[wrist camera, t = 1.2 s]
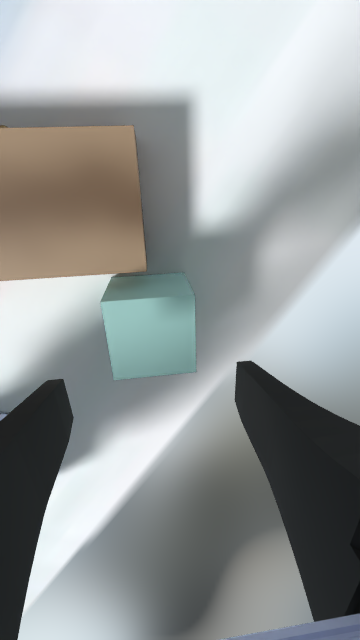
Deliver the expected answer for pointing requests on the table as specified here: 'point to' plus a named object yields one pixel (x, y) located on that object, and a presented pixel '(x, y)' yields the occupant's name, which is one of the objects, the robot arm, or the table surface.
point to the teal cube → (150, 325)
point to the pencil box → (70, 202)
